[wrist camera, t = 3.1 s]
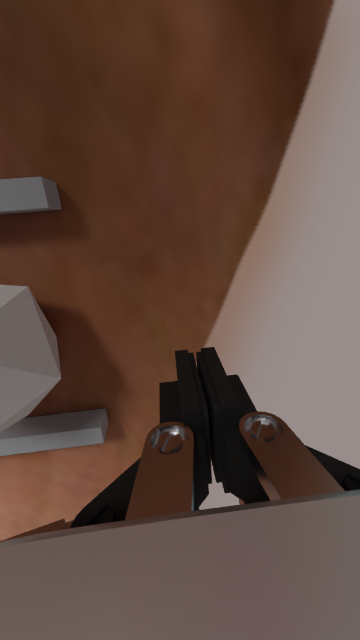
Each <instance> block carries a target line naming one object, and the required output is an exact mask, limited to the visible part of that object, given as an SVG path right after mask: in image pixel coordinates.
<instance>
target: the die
mask: <svg viewBox="0 0 360 640" xmlns="http://www.w3.org/2000/svg"><path fill="white" fill-rule="evenodd" d="M60 379H61V372H60V363H59V354H58V345H57V336H56V335H55V333H54V331H53V330H52V328H51V326H50V324H49V323H48V321H47V319H46V317H45V316H44V314H43V312H42V310H41V309H40V307H39V305H38V303H37V302H36V300H35V298H34V296H33V295H32V293H31V291H30V289H29V288H28V286H14V285H0V432H1V431H3V430H4V429H6V428H8V427H9V426H11V425H13V424H14V423H16V422H17V421H19V420H21V419H22V418H24V417H26V416H27V415H29V414H30V413H31V412H32V410H33V409H34V408H35V407H36V406H37V405H38V404H39V403H40V402H41V400H42V399H43V398H44V397H45V396H46V395H47V394H48V393H49V392H50V390H51V389H52V388H53V387H54V386H55V385H56V384H57V383H58V382H59V381H60Z"/></svg>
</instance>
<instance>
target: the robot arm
mask: <svg viewBox="0 0 360 640" xmlns="http://www.w3.org/2000/svg"><path fill="white" fill-rule="evenodd" d="M196 355H197V366H196V363H195V359H194V355H193V353H188V350H180V351H175V357H176V368H177V378H178V381H173V382H164V383H160V424H159V425H157V426H156V427H154V428H153V429H152V430H151V431H150V432H149V433H148V435H147V437H146V440H145V444H144V448H143V452H142V455H141V458H139V459H138V460H137V461H136V462H135V463H134V464H133V465H132V466H130V467H129V468H128V469H127V470H126V471H125V472H124V473H123V474H121V475H120V476H119V477H118V478H117V479H116V480H115V481H114V482H112V483H111V484H110V485H109V486H108V487H107V488H106V489H104V490H103V491H102V492H101V493H100V494H99V495H98V496H97V497H95V498H94V499H93V500H92V501H91V502H90V503H89V504H88V505H86V506H85V507H84V508H83V509H82V510H81V511H80V513H79V514H78V515H77V516H76V518H75V519H74V520H72V521H70V522H67V523H66V522H65V519H61V520H59V521H56V522H53V523H50V524H47V525H44V526H42V527H39V528H36V529H33V530H30V531H28V532H25V533H22V534H19V535H16V536H14V537H11V538H8V539H5V540H2V541H0V640H360V469H358V468H356V467H353V466H351V465H349V464H346V463H344V462H342V461H339V460H337V459H335V458H333V457H331V456H328V455H326V454H324V453H322V452H319V451H317V450H315V449H313V448H310V447H308V446H306V445H304V444H303V443H302V442H301V440H300V439H299V438H298V437H297V436H296V435H295V433H294V432H293V431H292V430H291V429H290V428H289V427H288V425H287V424H286V423H285V422H284V421H283V420H281V419H280V418H279V417H277V416H275V415H273V414H270V413H267V412H257V410H256V408H255V406H254V405H253V403H252V401H251V399H250V397H249V395H248V393H247V392H246V390H245V388H244V386H243V384H242V382H241V380H240V378H239V376H238V375H228V376H227V375H226V373H225V370H224V368H223V366H222V364H221V362H220V359H219V357H218V355H217V353H216V351H215V348H214V347H209V348H201V352H197V353H196ZM211 461H212V465H213V470H214V474H215V479H216V482H217V483H219V482H222V484H223V488H224V492H225V493H230V492H231V493H232V494H233V495H235V496H236V497H238V498H239V503H240V505H234V506H227V507H220V508H212V509H205V510H199V506H200V505H201V504H202V502H203V501H204V500H205V498H206V497H207V496H208V494H209V489H208V484H211V483H212V475H211Z"/></svg>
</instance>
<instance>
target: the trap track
mask: <svg viewBox="0 0 360 640" xmlns="http://www.w3.org/2000/svg"><path fill="white" fill-rule="evenodd" d="M50 210H62V208H61V203H60V198H59V194H58V189H57V185H56V182H54V181H52V180H49V179H47V178H44V177H41V176H40V177H26V178H12V179H0V214H12V213H25V212H37V211H50ZM108 424H109V422H108V418H107V413H106V408H104V409H95V410H87V411H79V412H70V413H62V414H53V415H45V416H37V417H28V418H22V419H21V420H19V421H17V422H16V423H14V424H13V425H11V426H9V427H8V428H6V429H4V430H3V431H1V432H0V456H5V455H13V454H21V453H29V452H37V451H44V450H52V449H60V448H68V447H76V446H84V445H92V444H100V443H104V441H105V436H106V432H107V428H108Z"/></svg>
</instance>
